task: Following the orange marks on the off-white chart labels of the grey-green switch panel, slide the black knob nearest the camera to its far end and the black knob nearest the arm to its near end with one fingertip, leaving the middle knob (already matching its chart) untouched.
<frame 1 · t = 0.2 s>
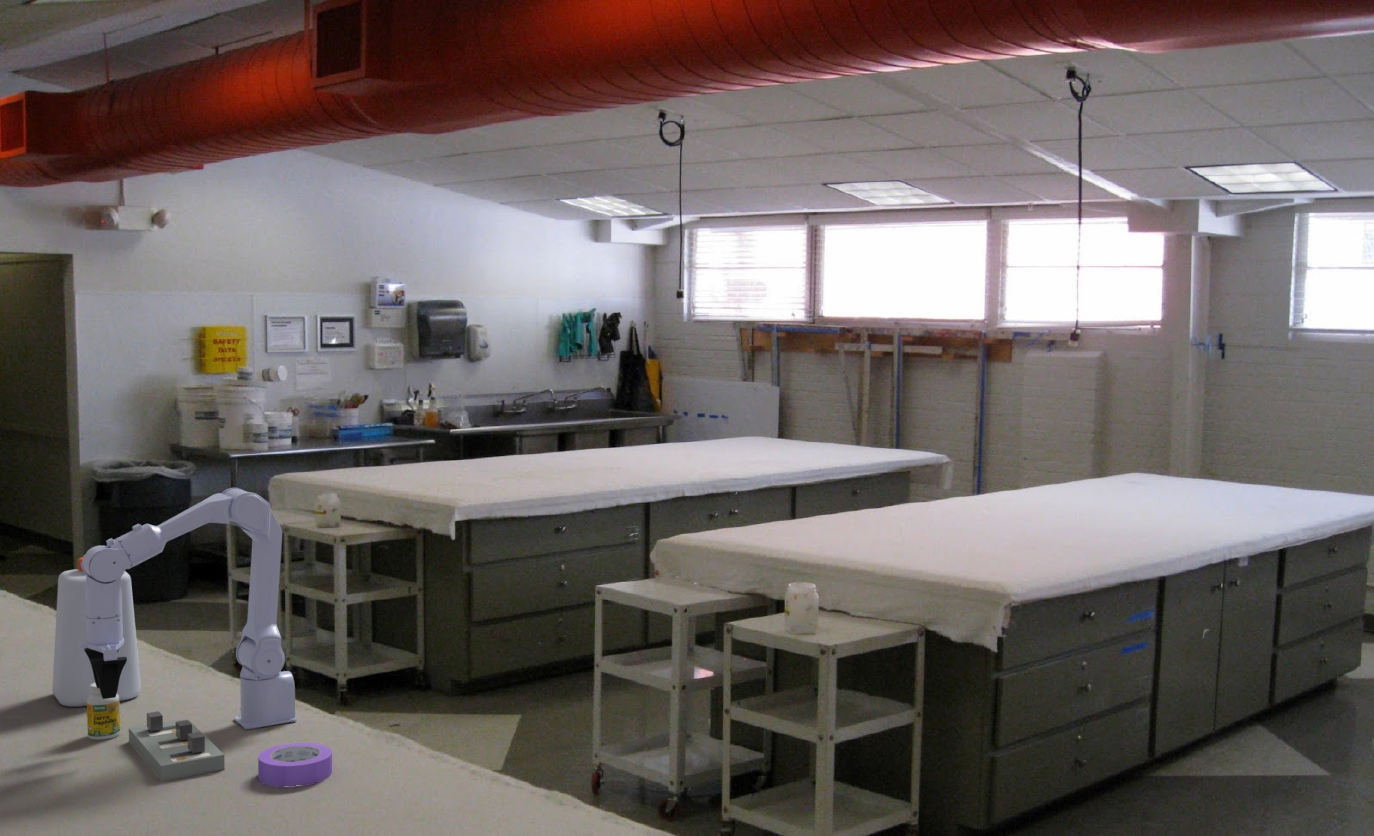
hand: (106, 692, 221), 10 cm above the table, fingers open, 7 cm apart
supplement bottle: (103, 736, 229), on the table
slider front: (196, 742, 213), point 4 cm above the table, slide at -1.5 cm
plastic bottle: (97, 696, 254), on the table
slider back: (154, 721, 224), point 4 cm above the table, slide at 1.5 cm
slider middle: (183, 729, 220), point 4 cm above the table, slide at -1.5 cm
masking tape: (295, 777, 210), on the table
switch panel: (175, 754, 219), on the table
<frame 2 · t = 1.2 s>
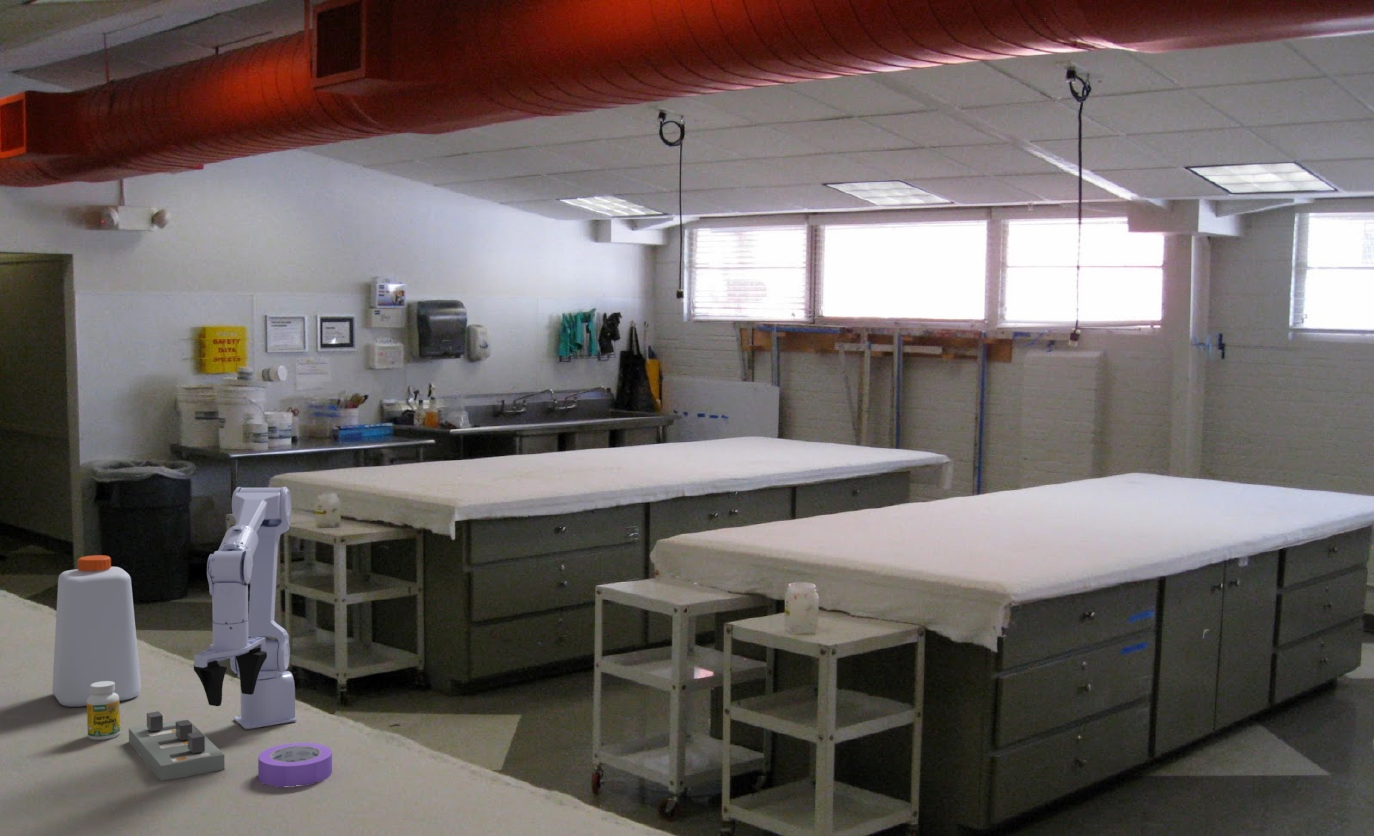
hand: (231, 699, 216), 10 cm above the table, fingers open, 7 cm apart
nothing on the table moved.
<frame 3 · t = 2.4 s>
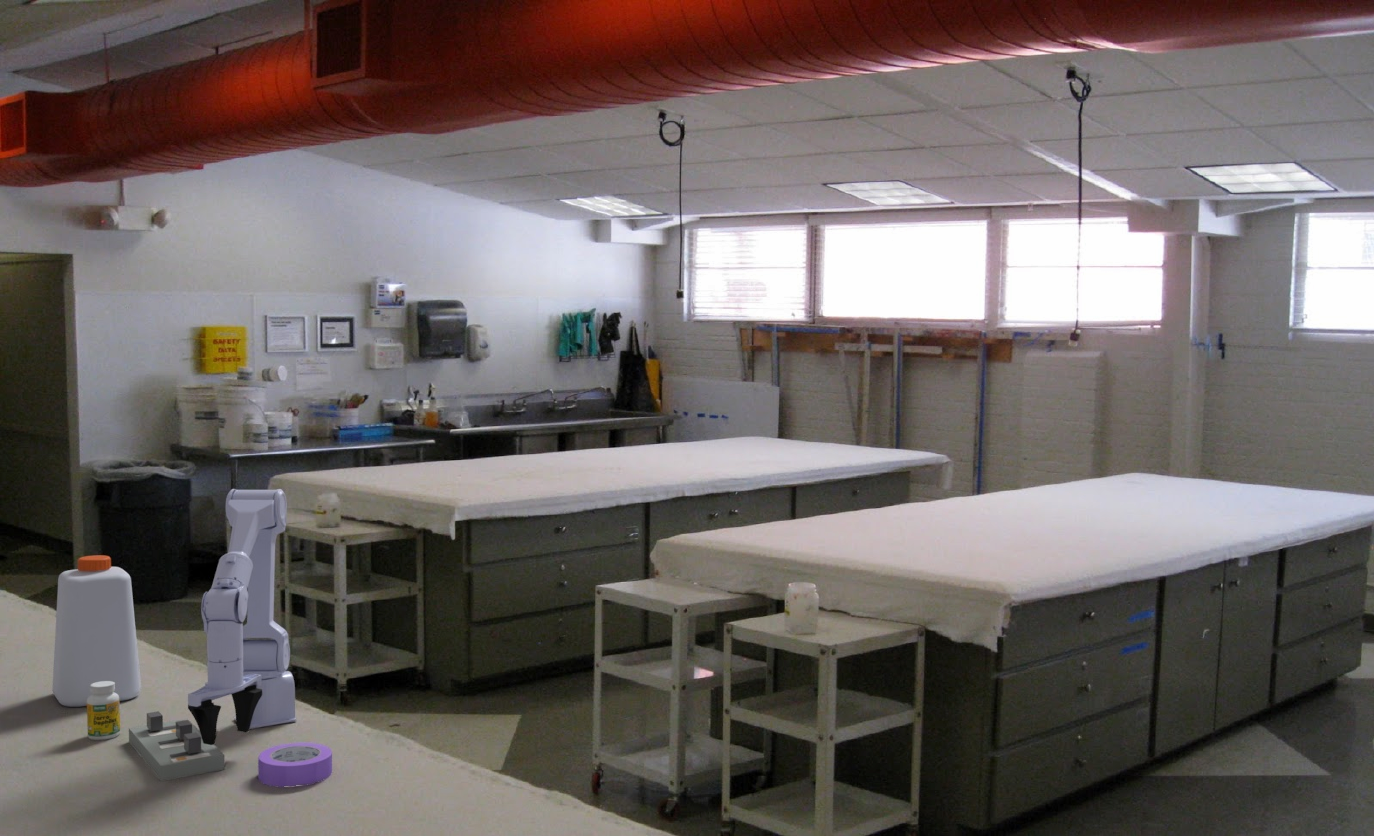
hand: (226, 737, 216), 4 cm above the table, fingers open, 7 cm apart
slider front: (192, 742, 213), point 4 cm above the table, slide at -0.9 cm, touching gripper
everything else where it was.
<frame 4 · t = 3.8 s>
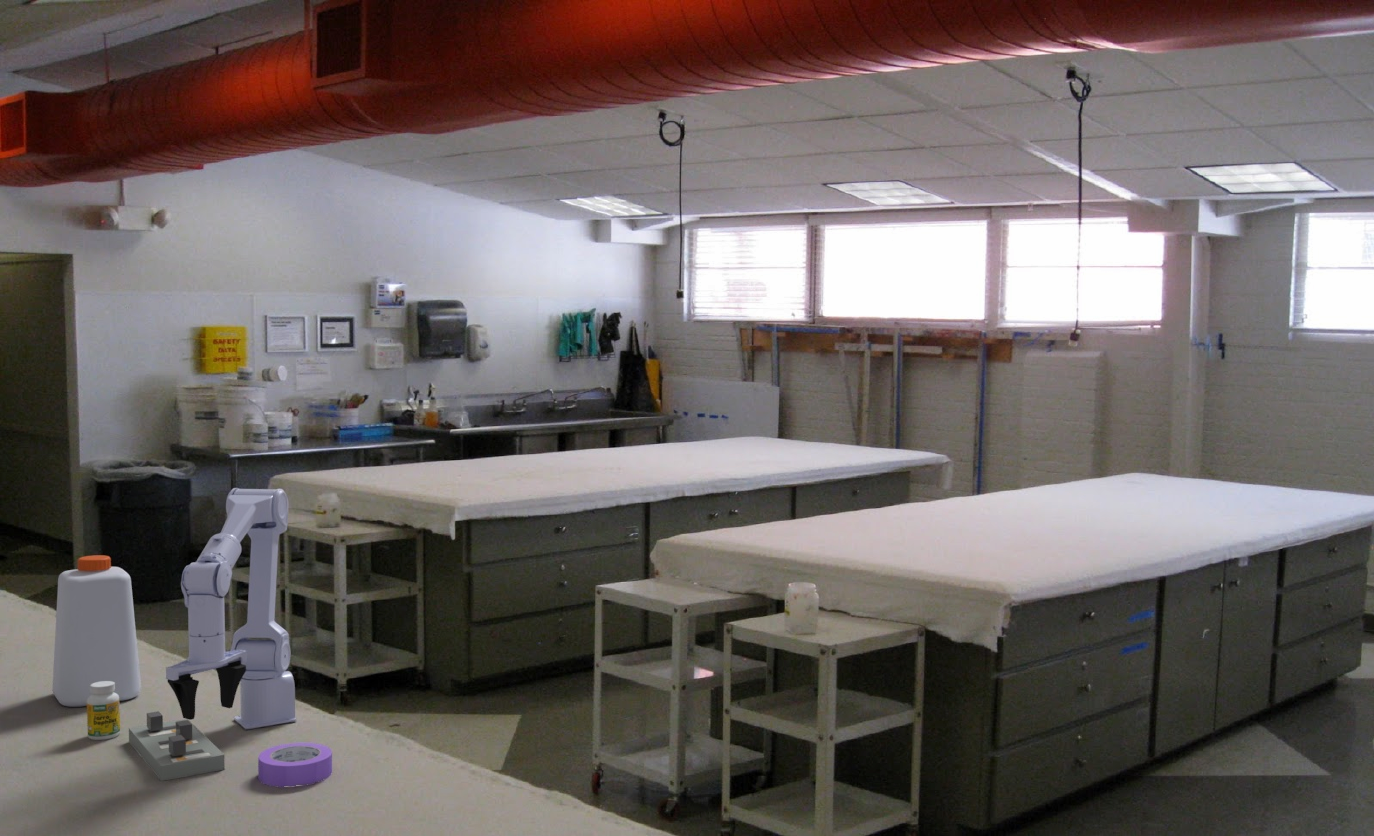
hand: (208, 712, 214), 9 cm above the table, fingers open, 7 cm apart
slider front: (177, 745, 211), point 4 cm above the table, slide at 1.5 cm
everything else where it was.
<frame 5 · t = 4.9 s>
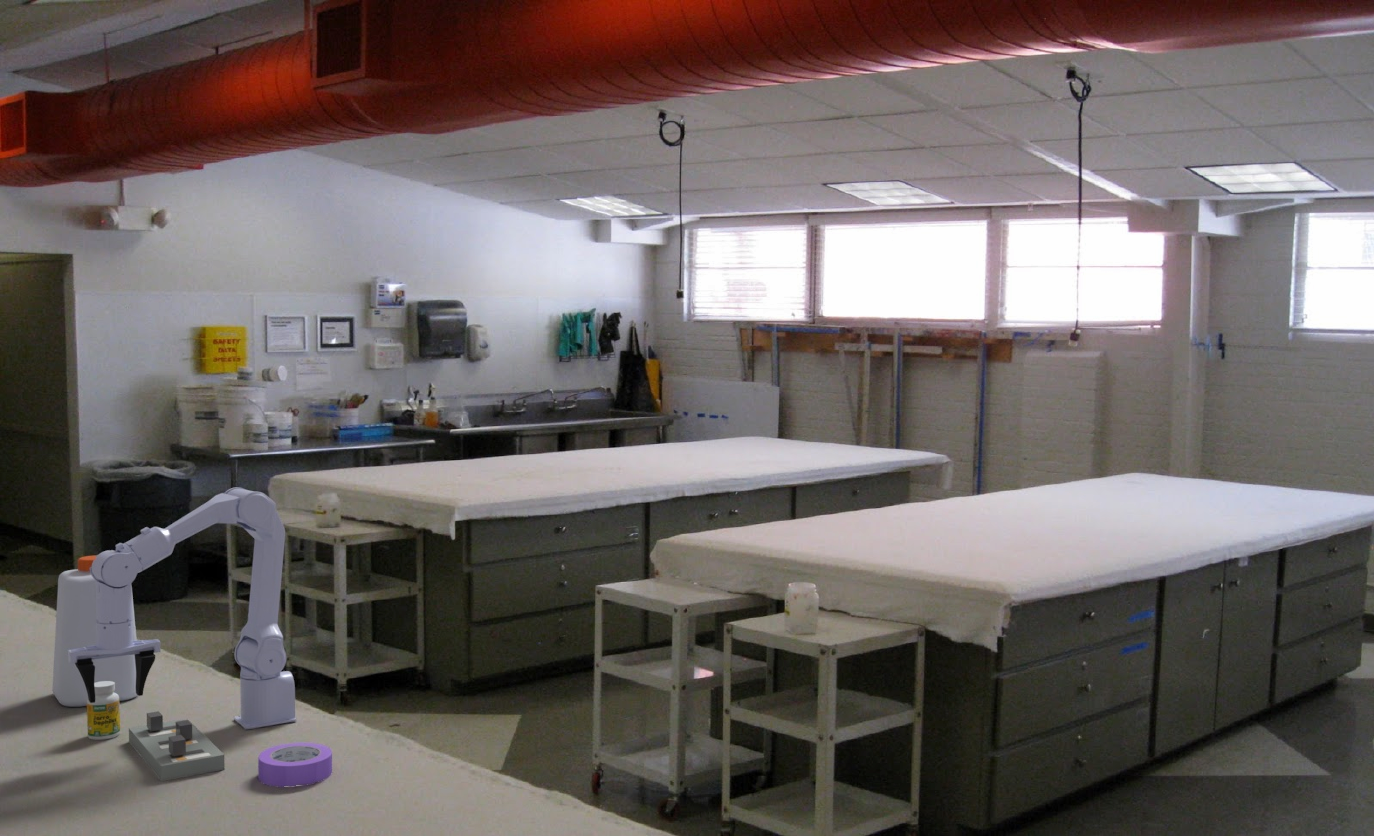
hand: (115, 697, 220), 9 cm above the table, fingers open, 7 cm apart
nothing on the table moved.
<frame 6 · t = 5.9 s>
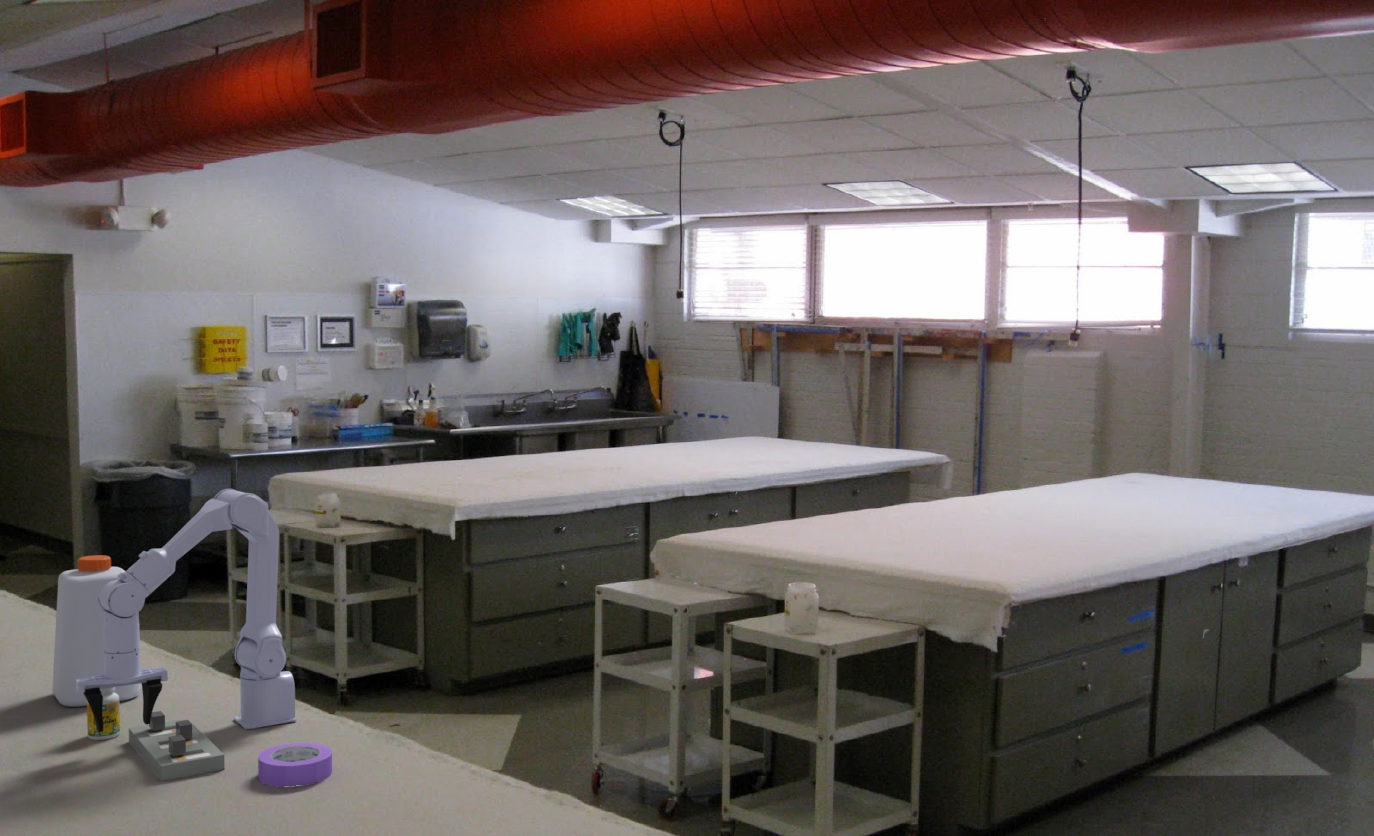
hand: (123, 726, 221), 4 cm above the table, fingers open, 7 cm apart
slider back: (156, 720, 224), point 4 cm above the table, slide at 1.1 cm, touching gripper
everything else where it was.
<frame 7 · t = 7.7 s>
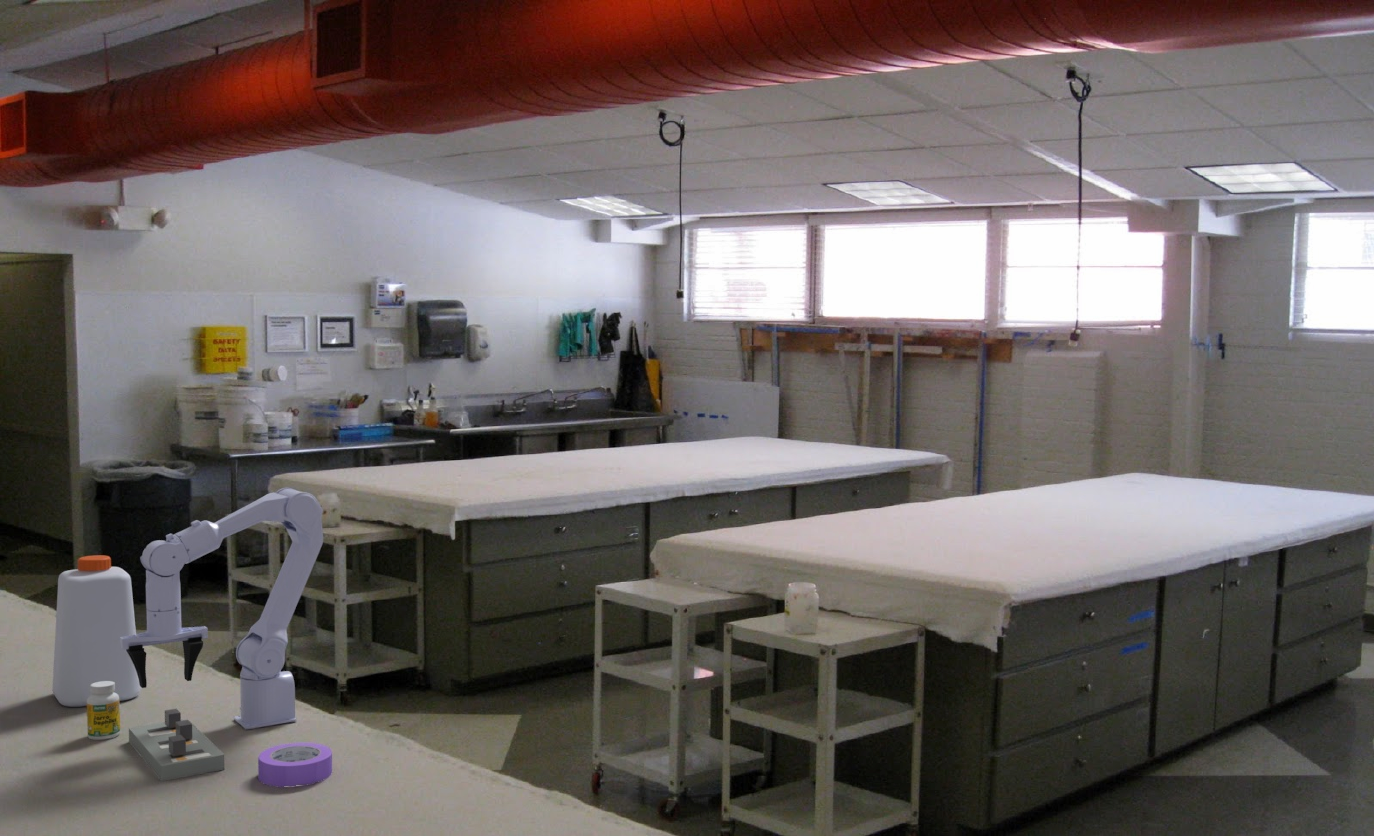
hand: (165, 682, 227), 10 cm above the table, fingers open, 7 cm apart
slider back: (172, 718, 226), point 4 cm above the table, slide at -1.5 cm
everything else where it was.
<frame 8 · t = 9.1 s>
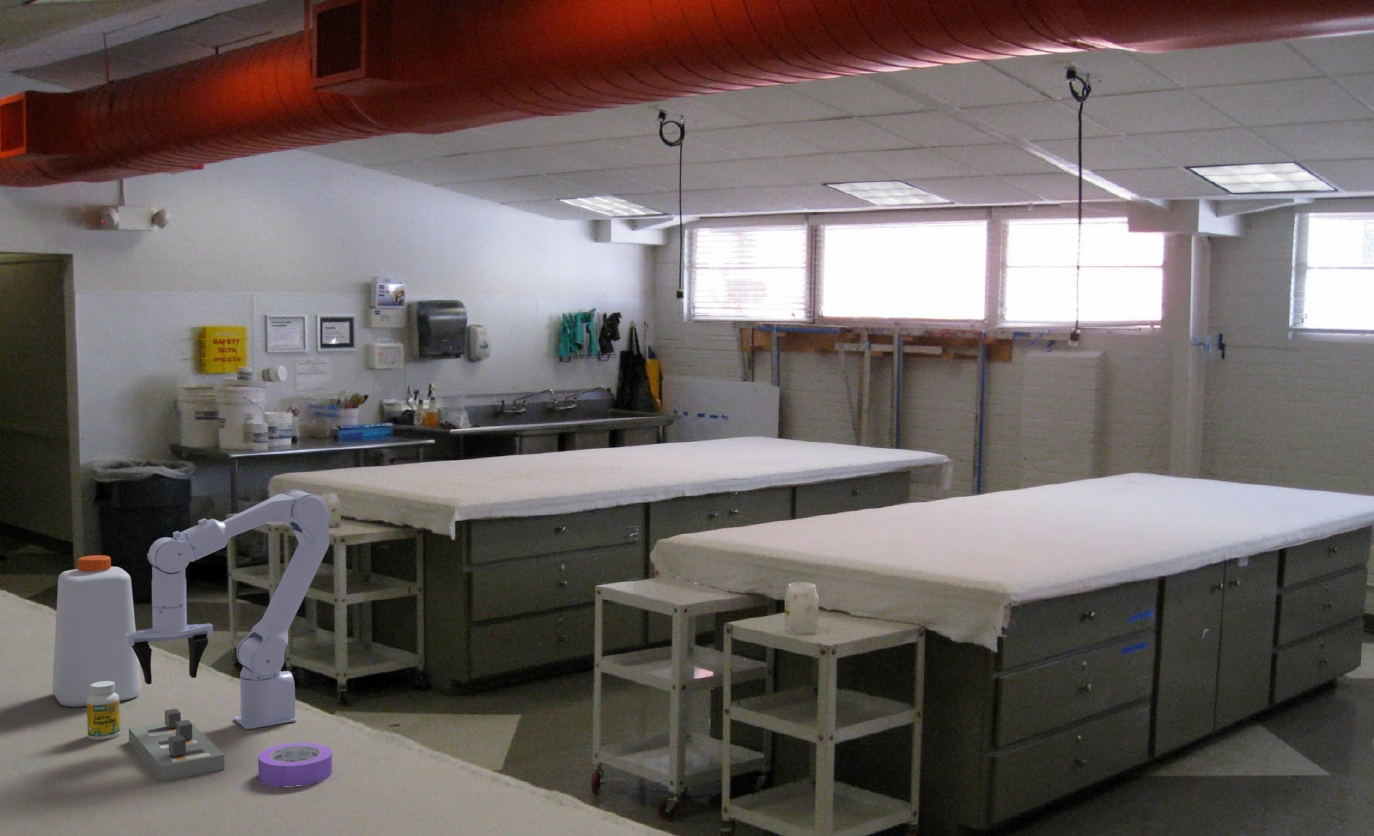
hand: (170, 679, 228), 10 cm above the table, fingers open, 7 cm apart
nothing on the table moved.
at the end: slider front slide at 1.5 cm; slider middle slide at -1.5 cm; slider back slide at -1.5 cm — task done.
